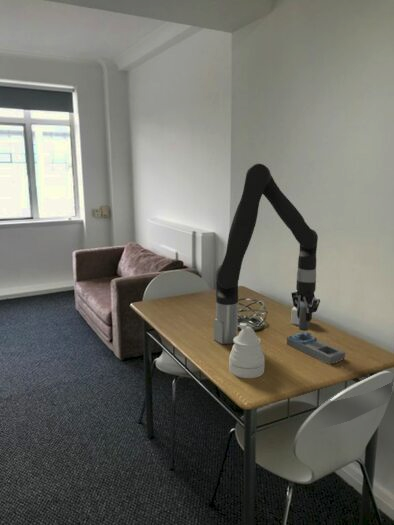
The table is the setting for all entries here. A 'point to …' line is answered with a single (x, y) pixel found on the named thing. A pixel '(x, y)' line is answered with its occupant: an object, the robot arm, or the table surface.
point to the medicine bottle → (294, 316)
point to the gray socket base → (315, 347)
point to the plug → (303, 317)
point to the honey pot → (246, 354)
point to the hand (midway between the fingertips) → (304, 319)
